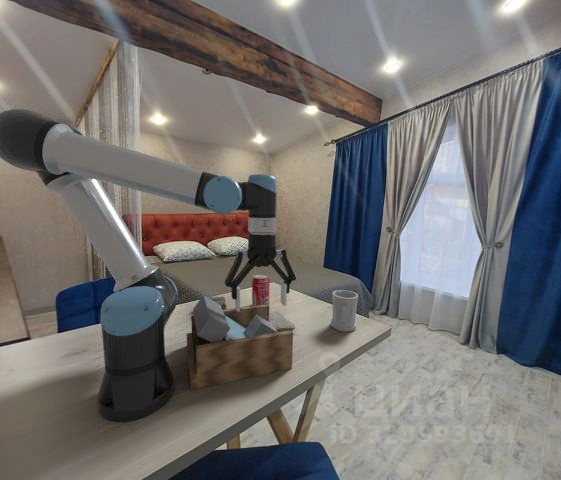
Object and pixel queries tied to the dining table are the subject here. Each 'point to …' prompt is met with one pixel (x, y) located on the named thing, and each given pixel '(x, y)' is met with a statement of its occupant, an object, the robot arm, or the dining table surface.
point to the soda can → (260, 290)
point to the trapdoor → (215, 322)
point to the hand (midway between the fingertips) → (261, 307)
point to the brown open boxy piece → (238, 352)
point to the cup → (344, 310)
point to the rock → (219, 301)
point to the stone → (280, 322)
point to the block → (259, 327)
